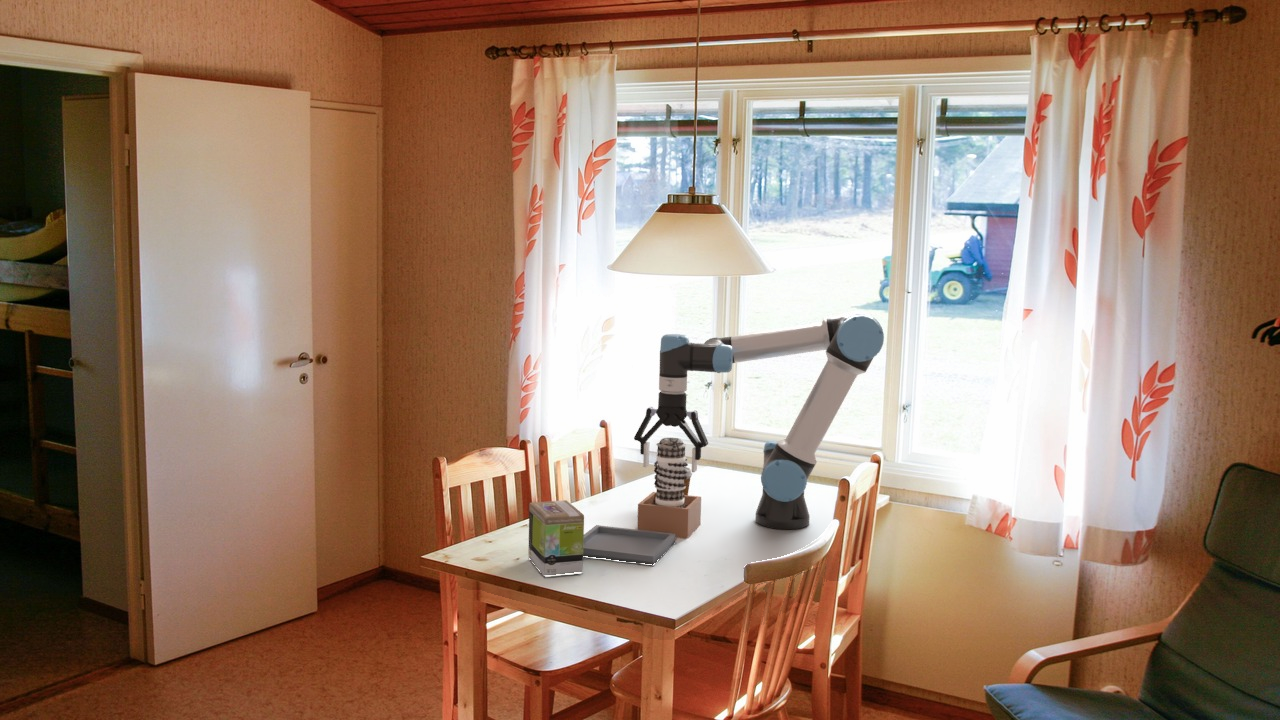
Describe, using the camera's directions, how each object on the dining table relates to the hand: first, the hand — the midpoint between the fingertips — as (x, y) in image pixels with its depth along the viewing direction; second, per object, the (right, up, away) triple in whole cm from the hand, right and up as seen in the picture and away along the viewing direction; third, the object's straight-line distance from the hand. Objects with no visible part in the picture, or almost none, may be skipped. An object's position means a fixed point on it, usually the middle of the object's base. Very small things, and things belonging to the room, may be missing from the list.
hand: (669, 469), depth 283 cm
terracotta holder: (0, -17, +2) cm, 17 cm away
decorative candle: (0, -17, +2) cm, 17 cm away
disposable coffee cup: (+2, -14, +22) cm, 27 cm away
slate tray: (-12, -19, -17) cm, 28 cm away
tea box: (-29, -21, -32) cm, 47 cm away
